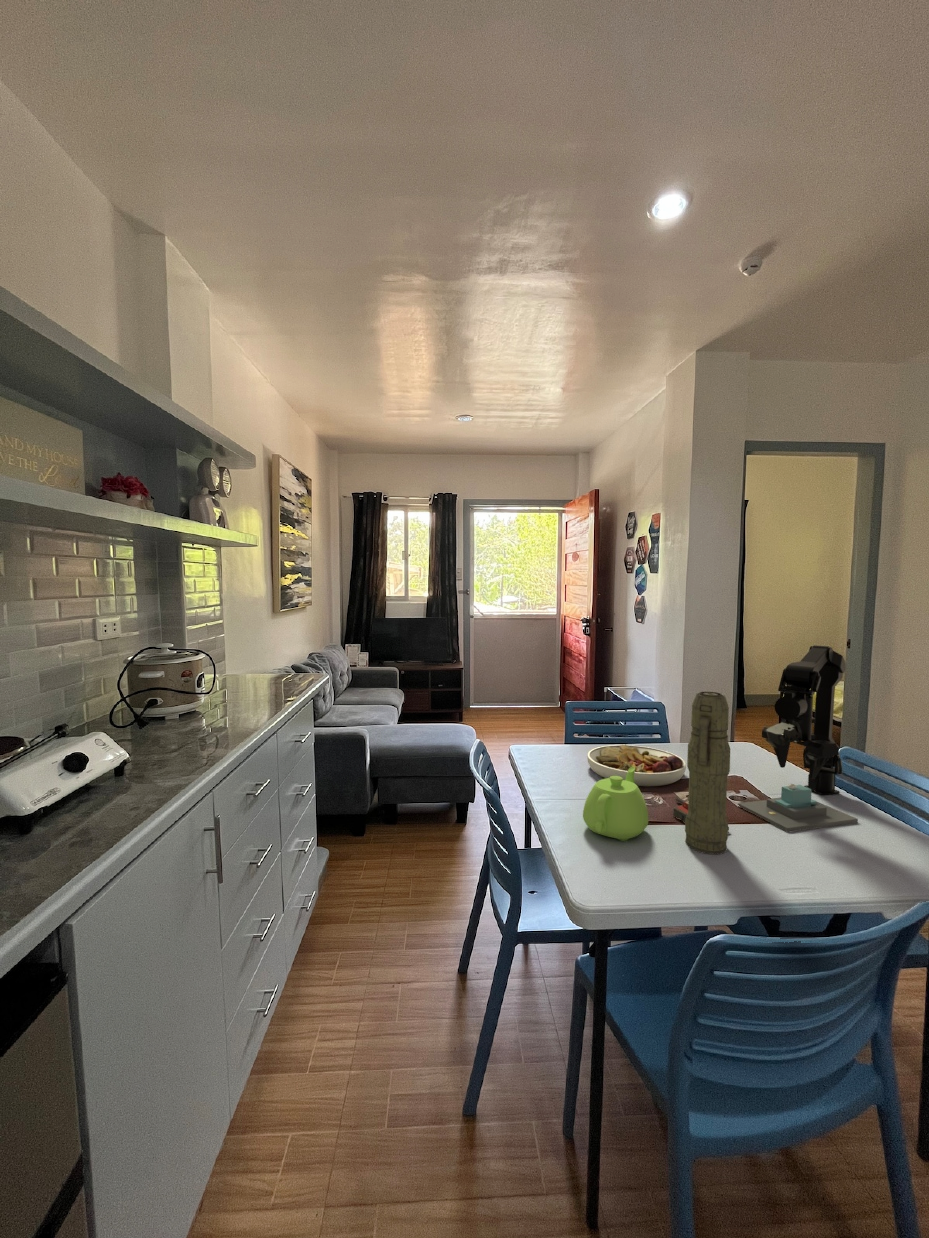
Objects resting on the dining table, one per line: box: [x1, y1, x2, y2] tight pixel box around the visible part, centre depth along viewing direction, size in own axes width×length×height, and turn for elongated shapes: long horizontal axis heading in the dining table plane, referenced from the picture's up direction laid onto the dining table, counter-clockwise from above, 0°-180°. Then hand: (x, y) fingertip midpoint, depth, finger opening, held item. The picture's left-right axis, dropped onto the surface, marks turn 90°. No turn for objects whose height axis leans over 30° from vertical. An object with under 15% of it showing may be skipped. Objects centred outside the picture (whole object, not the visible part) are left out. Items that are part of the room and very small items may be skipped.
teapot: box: [582, 767, 650, 842], centre depth 133 cm, size 22×15×13 cm
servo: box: [775, 783, 818, 809], centre depth 143 cm, size 10×4×7 cm, turn 106°
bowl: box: [586, 744, 687, 787], centre depth 176 cm, size 30×30×8 cm
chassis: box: [737, 797, 859, 833], centre depth 143 cm, size 22×16×3 cm
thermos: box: [684, 691, 731, 855], centre depth 124 cm, size 9×12×35 cm
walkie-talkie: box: [673, 796, 730, 831], centre depth 141 cm, size 9×4×20 cm
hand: (796, 772), depth 143 cm, fingers open, 9 cm apart
